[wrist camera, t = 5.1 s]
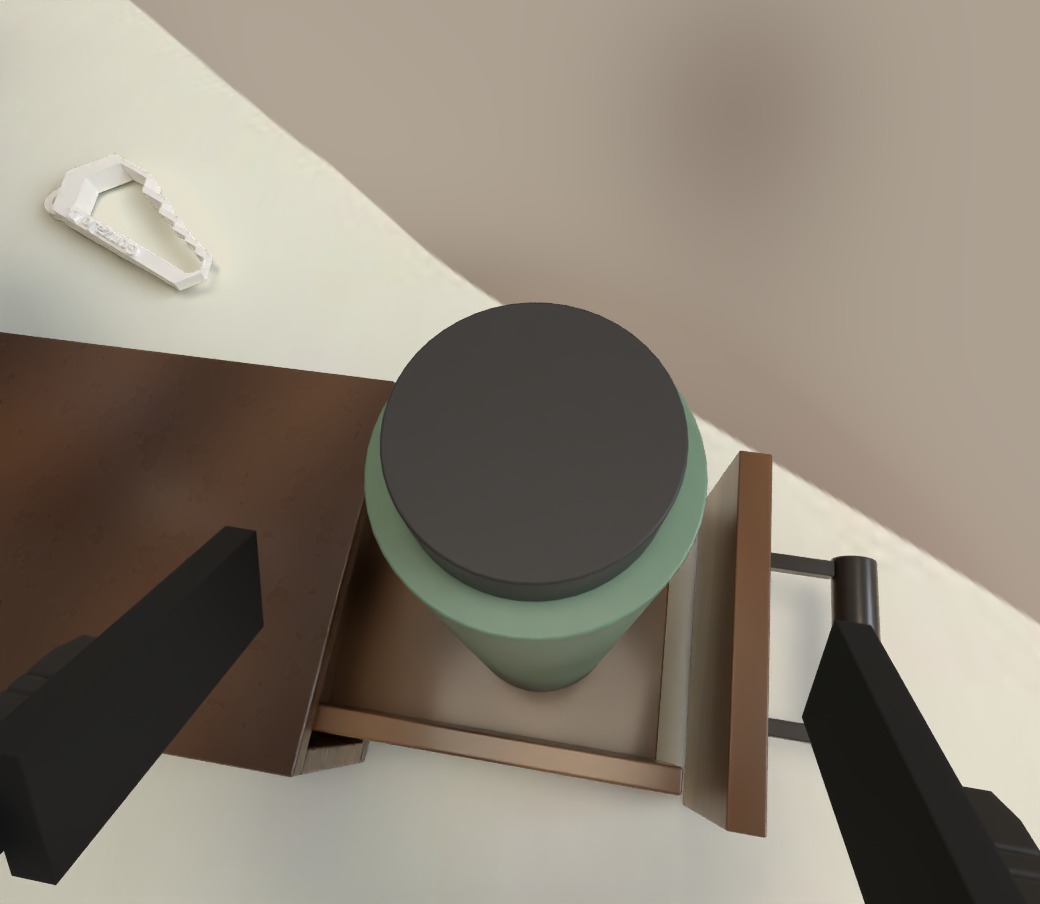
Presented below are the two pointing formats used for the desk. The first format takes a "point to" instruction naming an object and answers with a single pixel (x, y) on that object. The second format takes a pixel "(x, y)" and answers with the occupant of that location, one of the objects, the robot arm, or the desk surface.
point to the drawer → (599, 671)
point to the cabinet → (185, 519)
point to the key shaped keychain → (75, 211)
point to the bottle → (536, 486)
